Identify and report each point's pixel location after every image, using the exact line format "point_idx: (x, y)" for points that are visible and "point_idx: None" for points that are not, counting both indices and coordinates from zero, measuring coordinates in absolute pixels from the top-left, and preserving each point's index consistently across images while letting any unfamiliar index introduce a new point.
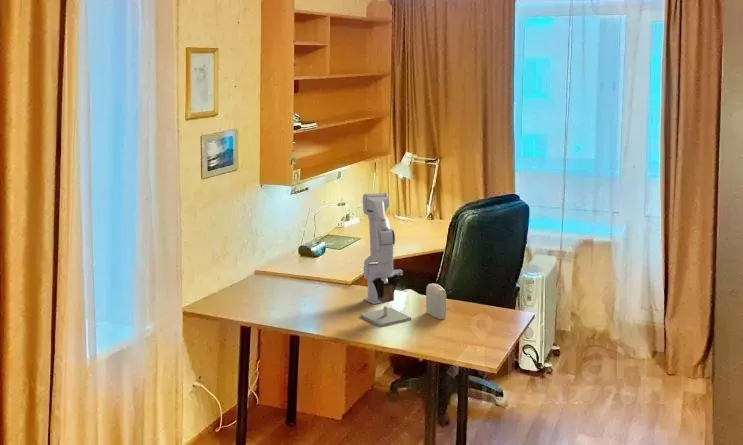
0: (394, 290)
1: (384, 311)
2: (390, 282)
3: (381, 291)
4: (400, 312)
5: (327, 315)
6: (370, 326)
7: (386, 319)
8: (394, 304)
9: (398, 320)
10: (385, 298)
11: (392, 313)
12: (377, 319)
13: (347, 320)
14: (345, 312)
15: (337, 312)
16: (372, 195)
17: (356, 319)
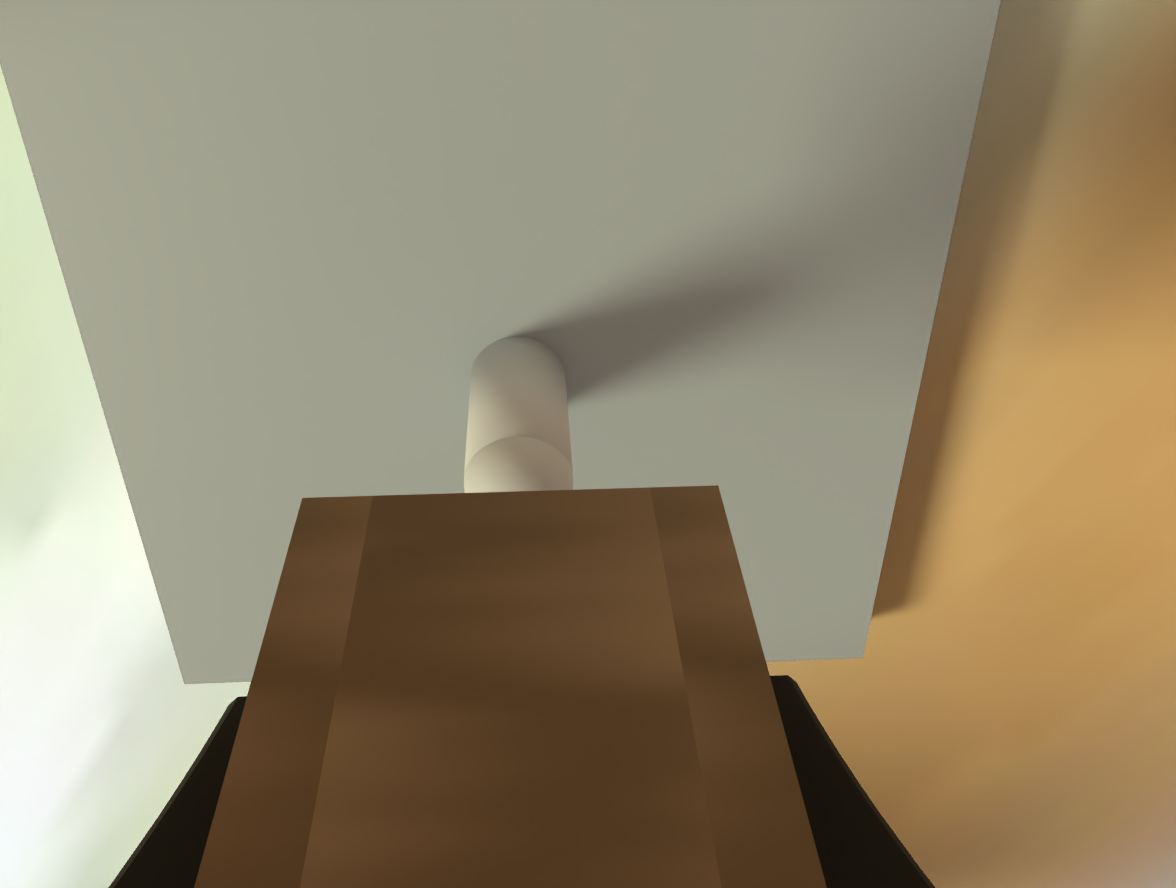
0: (138, 848)
1: (565, 423)
2: None
3: (879, 879)
4: (102, 385)
5: (1170, 835)
6: (1118, 96)
7: (647, 166)
8: (12, 800)
9: None
10: (678, 580)
11: (306, 418)
12: (818, 275)
13: (1147, 580)
14: (894, 828)
15: (978, 864)
16: None
17: (1001, 551)
